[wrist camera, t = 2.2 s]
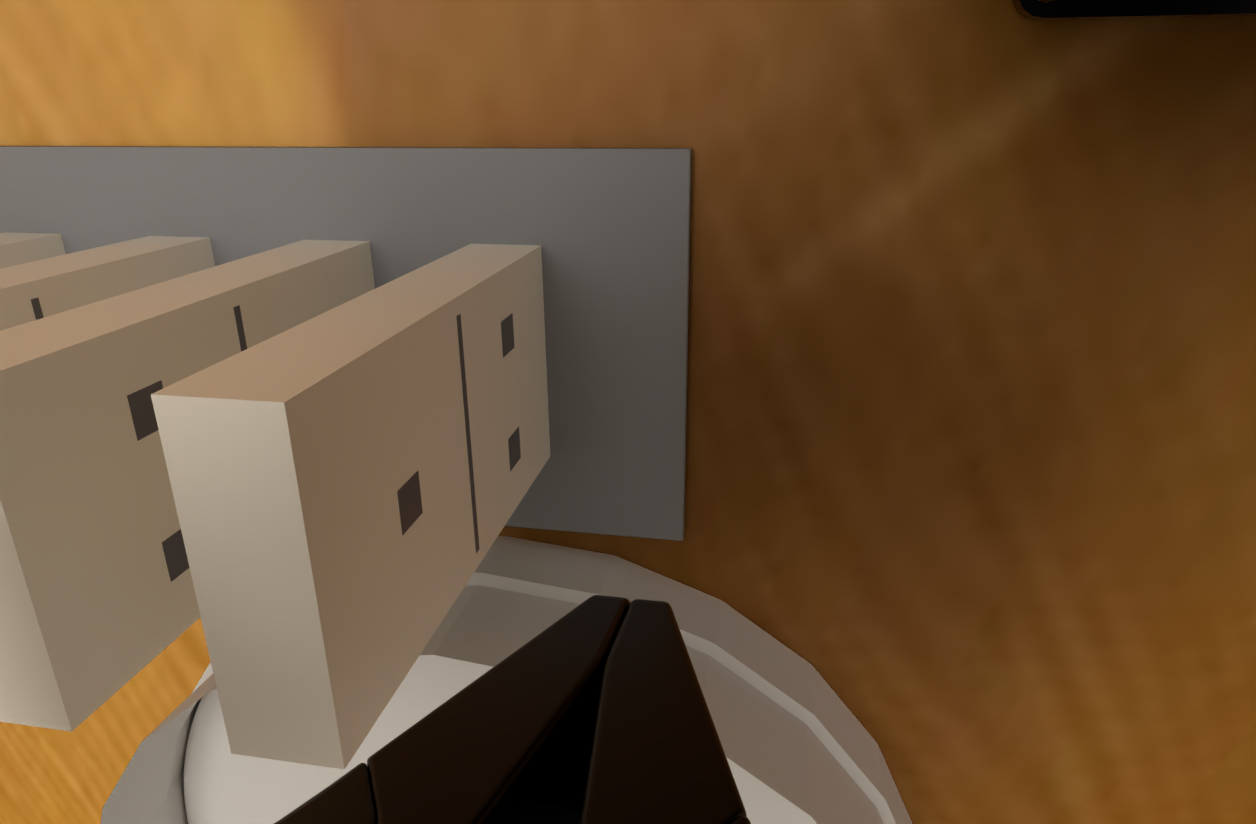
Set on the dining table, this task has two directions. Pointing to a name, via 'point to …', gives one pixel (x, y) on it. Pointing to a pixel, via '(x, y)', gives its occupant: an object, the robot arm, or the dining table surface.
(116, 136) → the dining table surface
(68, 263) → the tile
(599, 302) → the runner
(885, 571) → the dining table surface
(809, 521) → the dining table surface
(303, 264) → the tile
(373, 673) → the tile
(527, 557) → the dish
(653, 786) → the robot arm
